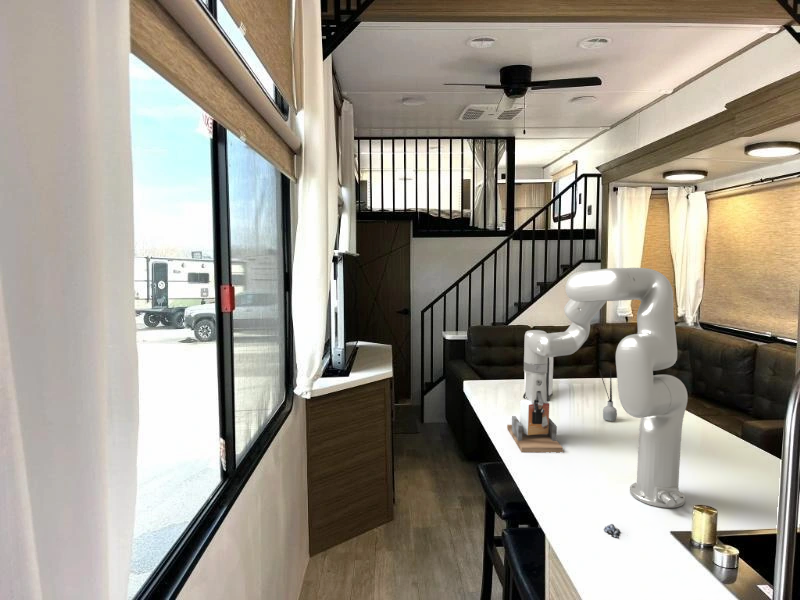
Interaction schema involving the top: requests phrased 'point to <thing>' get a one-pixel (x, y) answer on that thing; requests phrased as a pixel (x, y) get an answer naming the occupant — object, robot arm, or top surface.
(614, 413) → the reed diffuser
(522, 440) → the holder stand
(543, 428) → the small box
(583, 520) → the top surface
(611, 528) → the blueberries
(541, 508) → the top surface
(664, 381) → the robot arm
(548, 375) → the coffee press
